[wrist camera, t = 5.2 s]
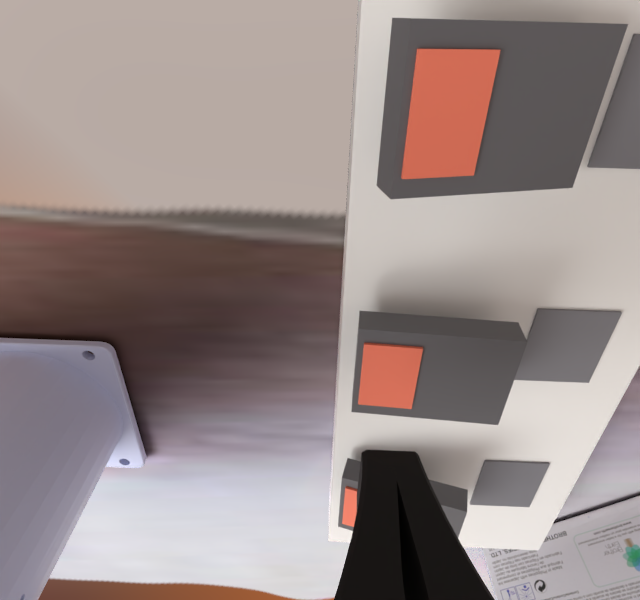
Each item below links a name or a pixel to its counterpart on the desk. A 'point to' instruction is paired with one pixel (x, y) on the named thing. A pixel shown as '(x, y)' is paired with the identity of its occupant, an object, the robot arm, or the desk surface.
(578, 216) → the power strip
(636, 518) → the ink cartridge box
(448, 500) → the rocker far end
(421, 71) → the block
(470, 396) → the rocker middle
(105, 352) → the robot arm
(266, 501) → the desk surface
